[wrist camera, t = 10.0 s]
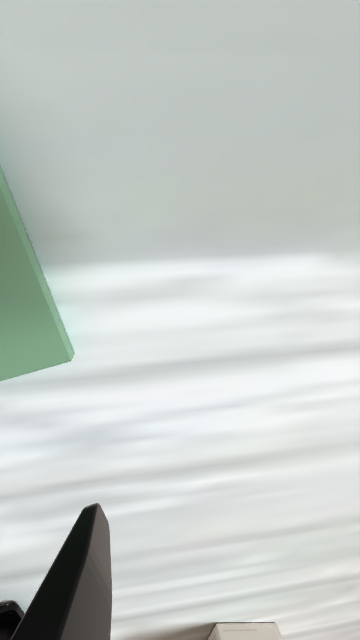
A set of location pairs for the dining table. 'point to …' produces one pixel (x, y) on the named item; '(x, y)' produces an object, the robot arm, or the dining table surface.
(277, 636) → the small box
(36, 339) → the pin board
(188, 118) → the dining table surface
